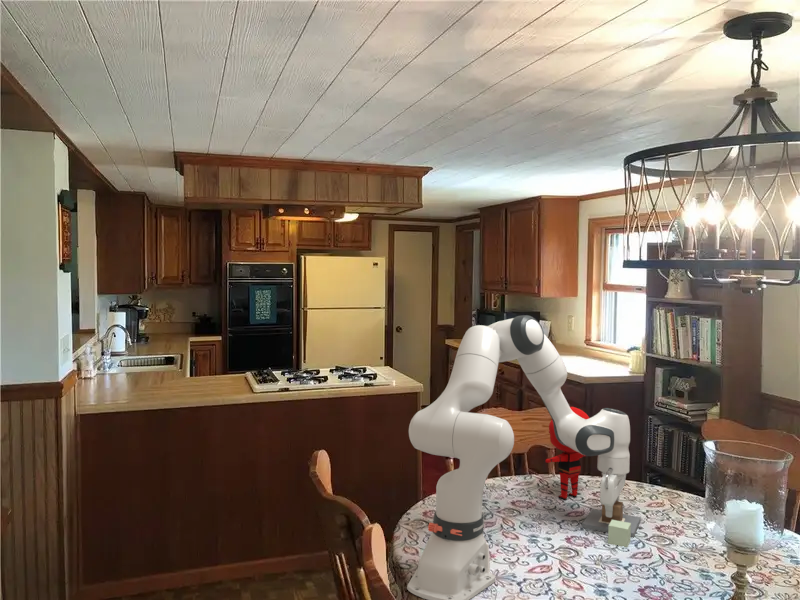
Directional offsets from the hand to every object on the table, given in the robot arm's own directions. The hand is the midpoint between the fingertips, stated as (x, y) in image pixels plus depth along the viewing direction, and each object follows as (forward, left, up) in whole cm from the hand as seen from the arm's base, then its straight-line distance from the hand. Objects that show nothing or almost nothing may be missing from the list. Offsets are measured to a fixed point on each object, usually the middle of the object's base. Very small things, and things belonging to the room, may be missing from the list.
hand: (612, 511), depth 182 cm
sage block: (-12, -4, -4) cm, 13 cm away
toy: (+16, +16, -4) cm, 23 cm away
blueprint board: (0, 0, -4) cm, 4 cm away
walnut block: (0, 0, -3) cm, 3 cm away
